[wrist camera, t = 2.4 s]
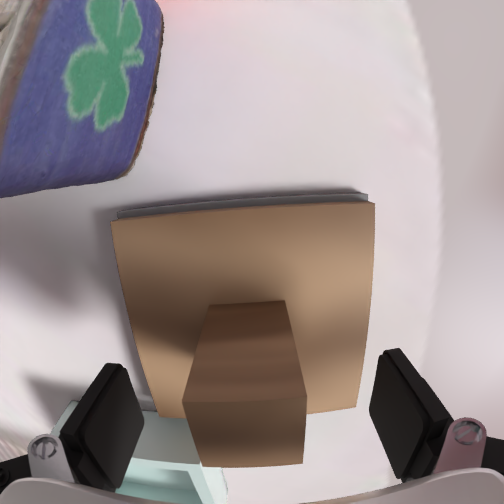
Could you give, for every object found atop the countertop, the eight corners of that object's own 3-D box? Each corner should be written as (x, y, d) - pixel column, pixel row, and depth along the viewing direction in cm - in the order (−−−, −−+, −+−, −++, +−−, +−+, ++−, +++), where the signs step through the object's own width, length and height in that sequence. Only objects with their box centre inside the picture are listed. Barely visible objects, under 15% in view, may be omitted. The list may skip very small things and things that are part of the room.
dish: (71, 400, 16) (47, 437, 13) (207, 414, 16) (199, 464, 12) (117, 476, 19) (105, 509, 15) (227, 488, 19) (225, 527, 15)
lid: (117, 218, 13) (18, 265, 6) (367, 201, 12) (465, 235, 6) (162, 407, 15) (133, 501, 9) (352, 398, 15) (387, 491, 9)
